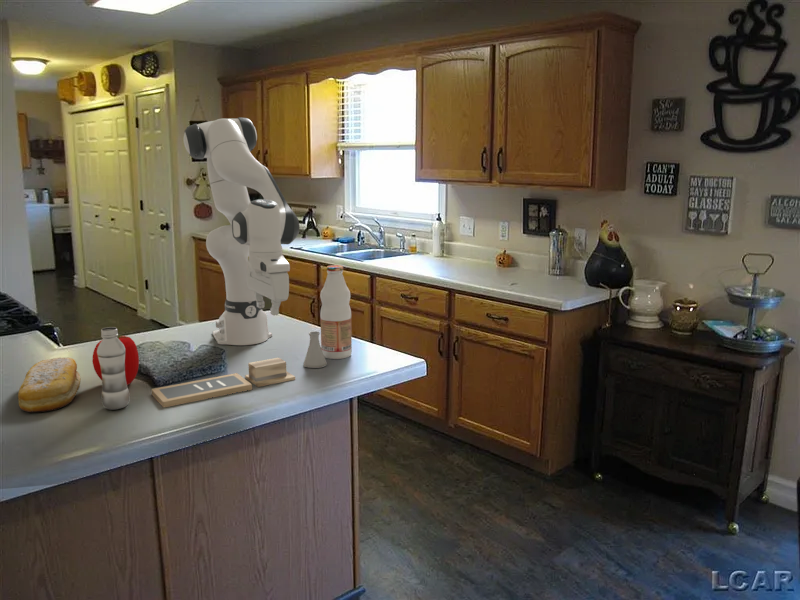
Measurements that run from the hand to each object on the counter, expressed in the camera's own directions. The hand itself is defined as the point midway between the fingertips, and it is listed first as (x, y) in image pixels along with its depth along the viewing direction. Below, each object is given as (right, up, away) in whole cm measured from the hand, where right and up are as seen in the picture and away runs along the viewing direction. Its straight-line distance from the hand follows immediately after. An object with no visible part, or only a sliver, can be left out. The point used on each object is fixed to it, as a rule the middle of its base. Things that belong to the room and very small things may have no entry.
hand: (267, 311), depth 180 cm
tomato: (-40, -20, -2) cm, 45 cm away
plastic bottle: (-33, -24, -18) cm, 45 cm away
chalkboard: (-16, -21, -7) cm, 27 cm away
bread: (-54, -22, -10) cm, 59 cm away
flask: (+11, -16, +15) cm, 25 cm away
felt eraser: (0, -18, +3) cm, 18 cm away
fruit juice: (+16, -14, +25) cm, 33 cm away
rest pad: (0, -19, +3) cm, 19 cm away
